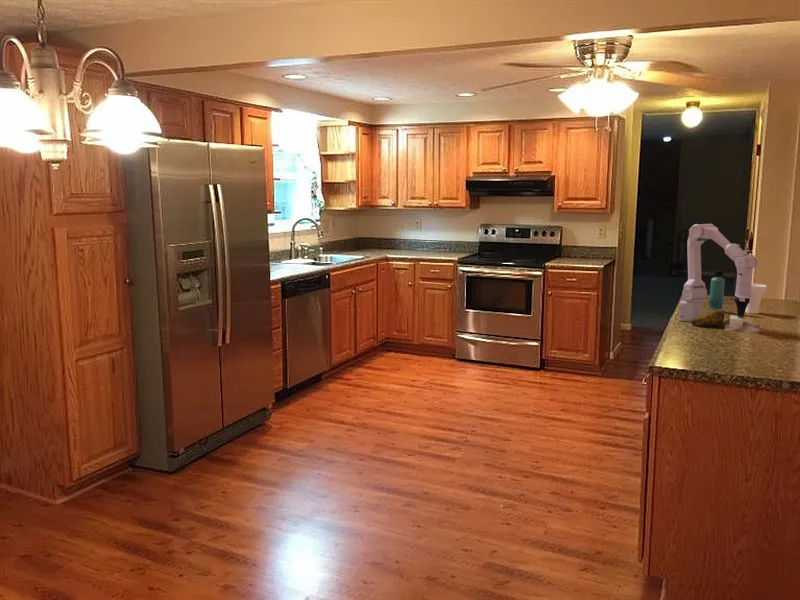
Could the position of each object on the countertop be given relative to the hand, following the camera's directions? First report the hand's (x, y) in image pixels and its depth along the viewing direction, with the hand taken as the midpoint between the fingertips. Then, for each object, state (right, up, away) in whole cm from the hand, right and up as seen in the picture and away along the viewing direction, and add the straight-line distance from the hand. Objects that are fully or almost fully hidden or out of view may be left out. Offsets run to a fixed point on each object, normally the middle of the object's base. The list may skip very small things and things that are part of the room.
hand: (740, 315), depth 284 cm
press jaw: (-2, -5, +2) cm, 6 cm away
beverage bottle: (+10, +1, +45) cm, 46 cm away
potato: (-11, -6, +7) cm, 14 cm away
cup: (+27, 0, +42) cm, 50 cm away
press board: (+1, -7, +1) cm, 7 cm away
